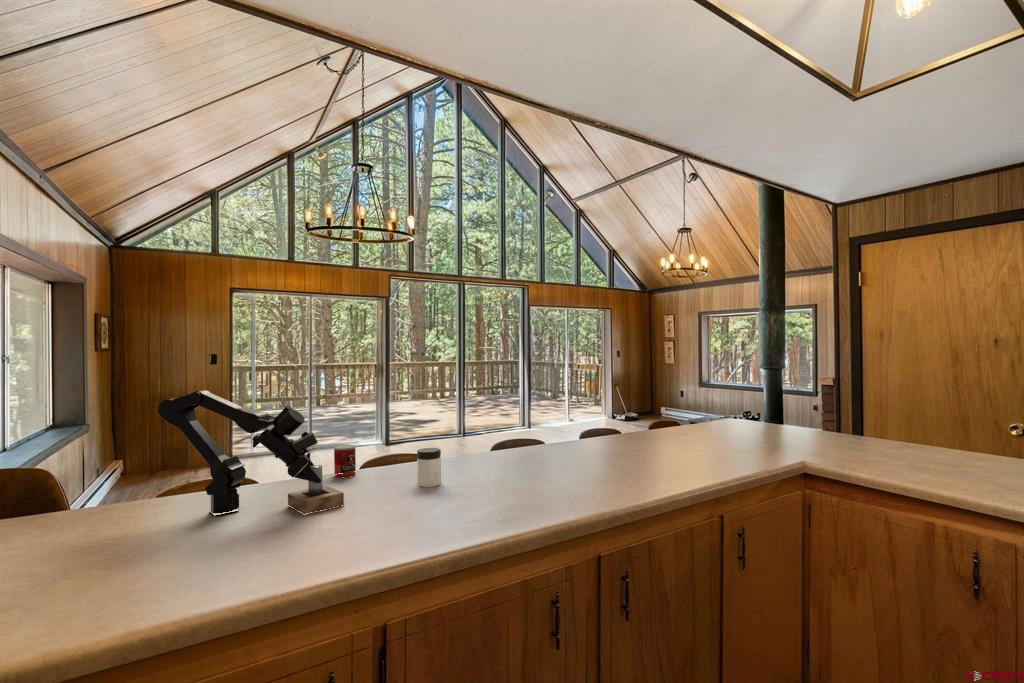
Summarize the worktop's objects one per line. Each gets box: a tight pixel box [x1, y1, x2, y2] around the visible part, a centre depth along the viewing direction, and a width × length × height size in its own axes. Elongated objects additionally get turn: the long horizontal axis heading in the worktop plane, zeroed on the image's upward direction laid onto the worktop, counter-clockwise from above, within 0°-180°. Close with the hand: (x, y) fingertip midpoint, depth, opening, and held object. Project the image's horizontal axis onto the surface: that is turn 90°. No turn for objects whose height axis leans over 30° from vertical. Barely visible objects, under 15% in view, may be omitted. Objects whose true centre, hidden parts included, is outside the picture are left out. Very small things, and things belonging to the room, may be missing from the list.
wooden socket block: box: [287, 485, 345, 514], centre depth 151 cm, size 12×12×4 cm
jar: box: [416, 447, 442, 488], centre depth 174 cm, size 9×8×12 cm
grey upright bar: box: [307, 464, 324, 497], centre depth 151 cm, size 4×4×12 cm
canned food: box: [333, 444, 357, 479], centre depth 189 cm, size 8×8×11 cm
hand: (319, 478), depth 151 cm, fingers open, 9 cm apart
